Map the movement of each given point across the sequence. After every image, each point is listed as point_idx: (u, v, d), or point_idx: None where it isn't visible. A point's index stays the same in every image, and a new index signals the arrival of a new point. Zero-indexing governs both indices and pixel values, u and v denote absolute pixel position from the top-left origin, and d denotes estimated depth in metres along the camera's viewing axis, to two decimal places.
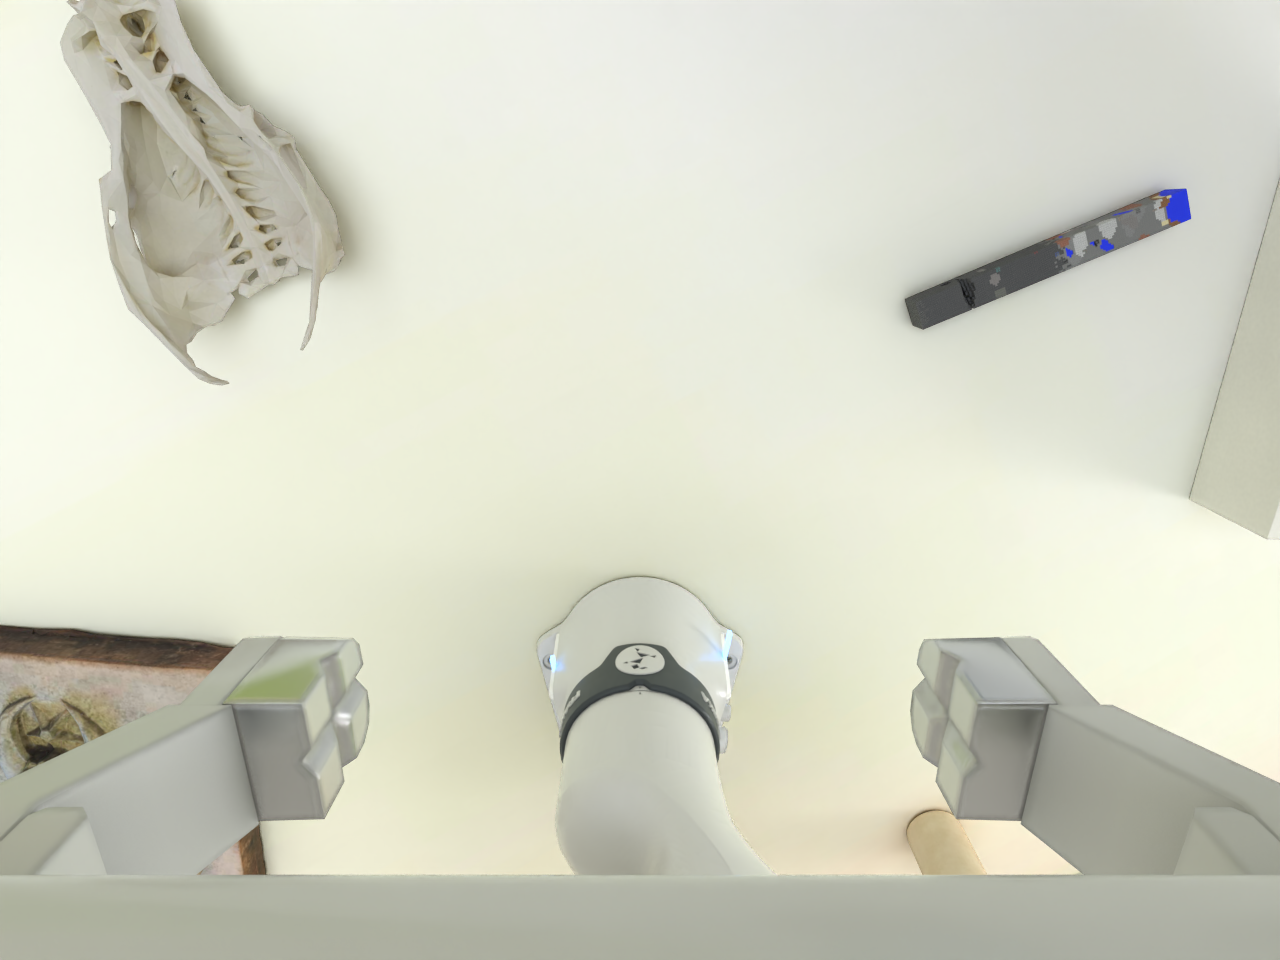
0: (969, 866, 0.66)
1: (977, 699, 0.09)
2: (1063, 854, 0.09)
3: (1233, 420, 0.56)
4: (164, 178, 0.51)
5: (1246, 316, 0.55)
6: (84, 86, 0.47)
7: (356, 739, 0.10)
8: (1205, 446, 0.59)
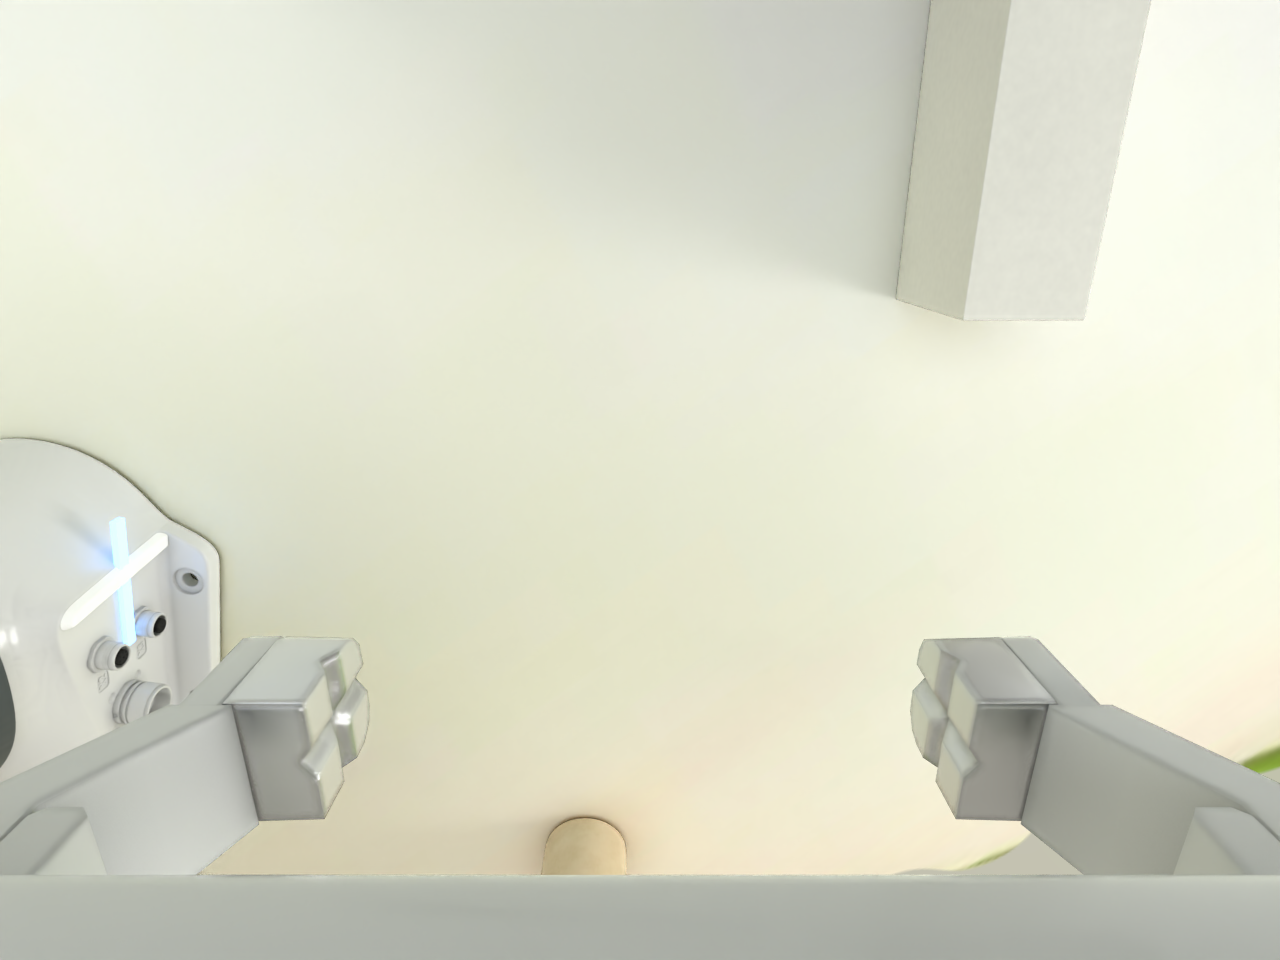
0: None
1: (977, 699, 0.09)
2: (1063, 854, 0.09)
3: (931, 129, 0.32)
4: None
5: None
6: None
7: (356, 739, 0.10)
8: (908, 198, 0.35)
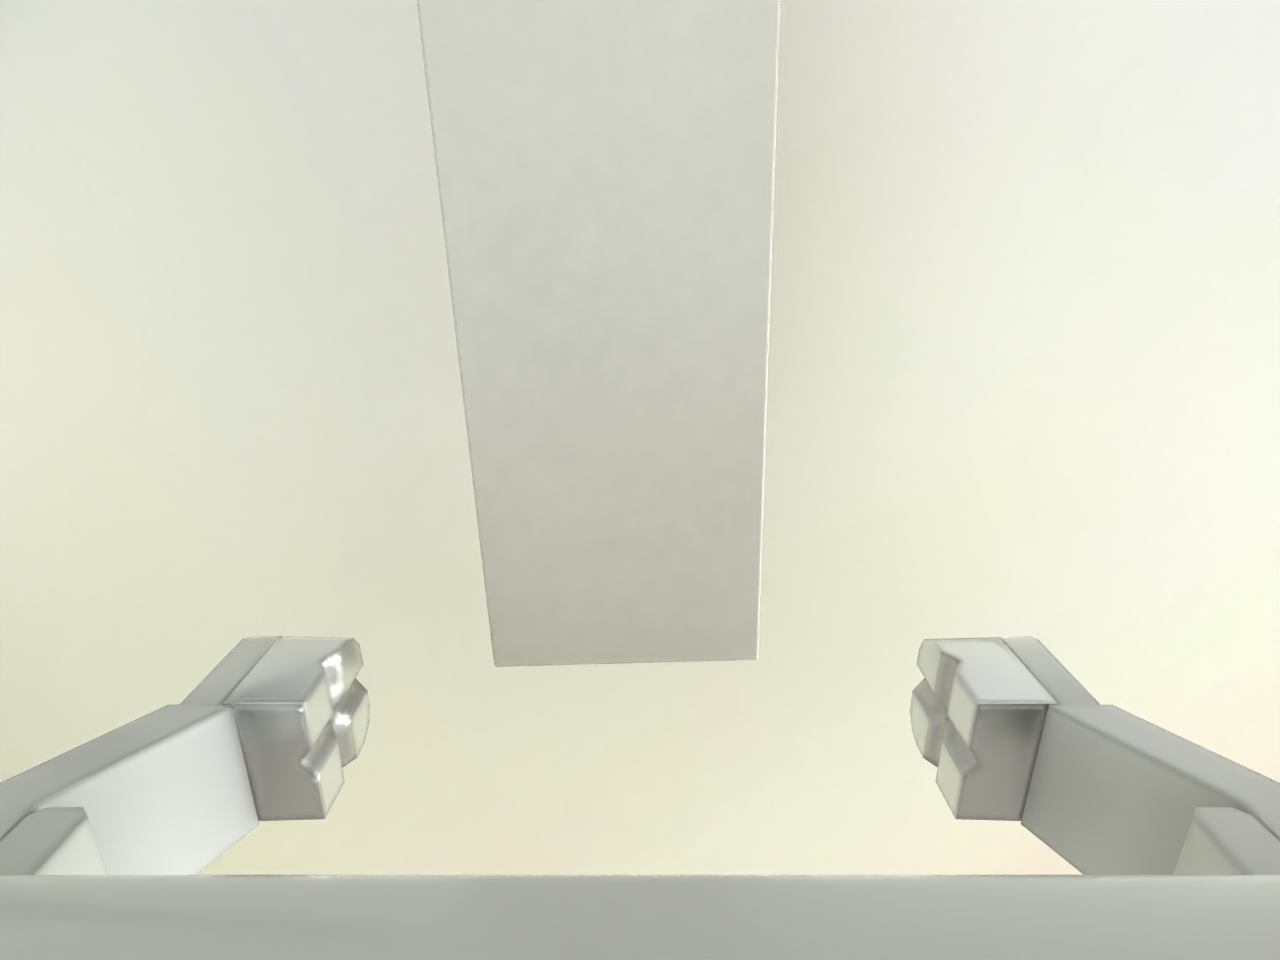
0: None
1: (977, 699, 0.09)
2: (1062, 854, 0.09)
3: None
4: None
5: None
6: None
7: (356, 739, 0.10)
8: None
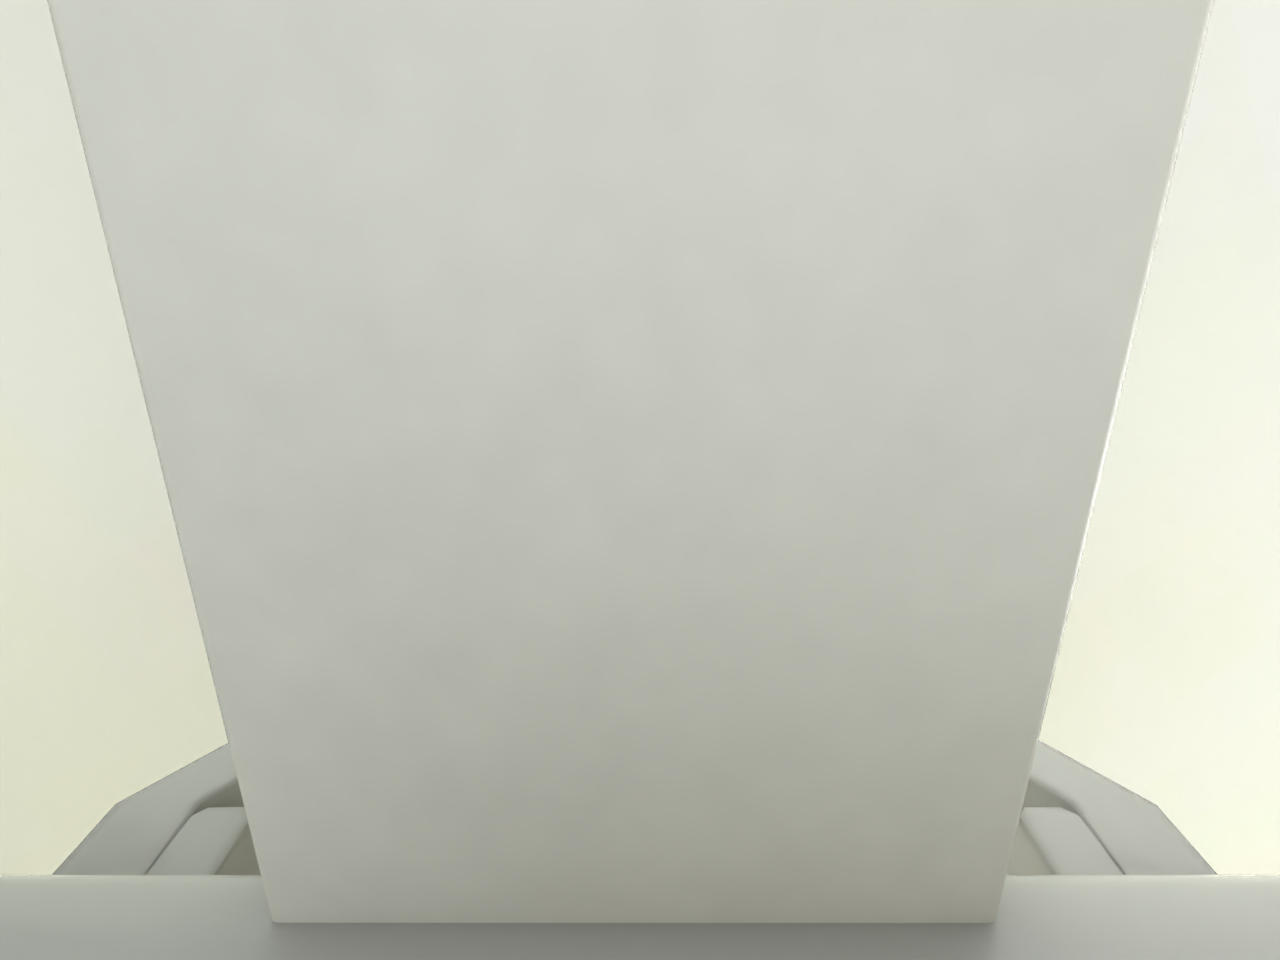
0: None
1: None
2: None
3: None
4: None
5: None
6: None
7: None
8: None
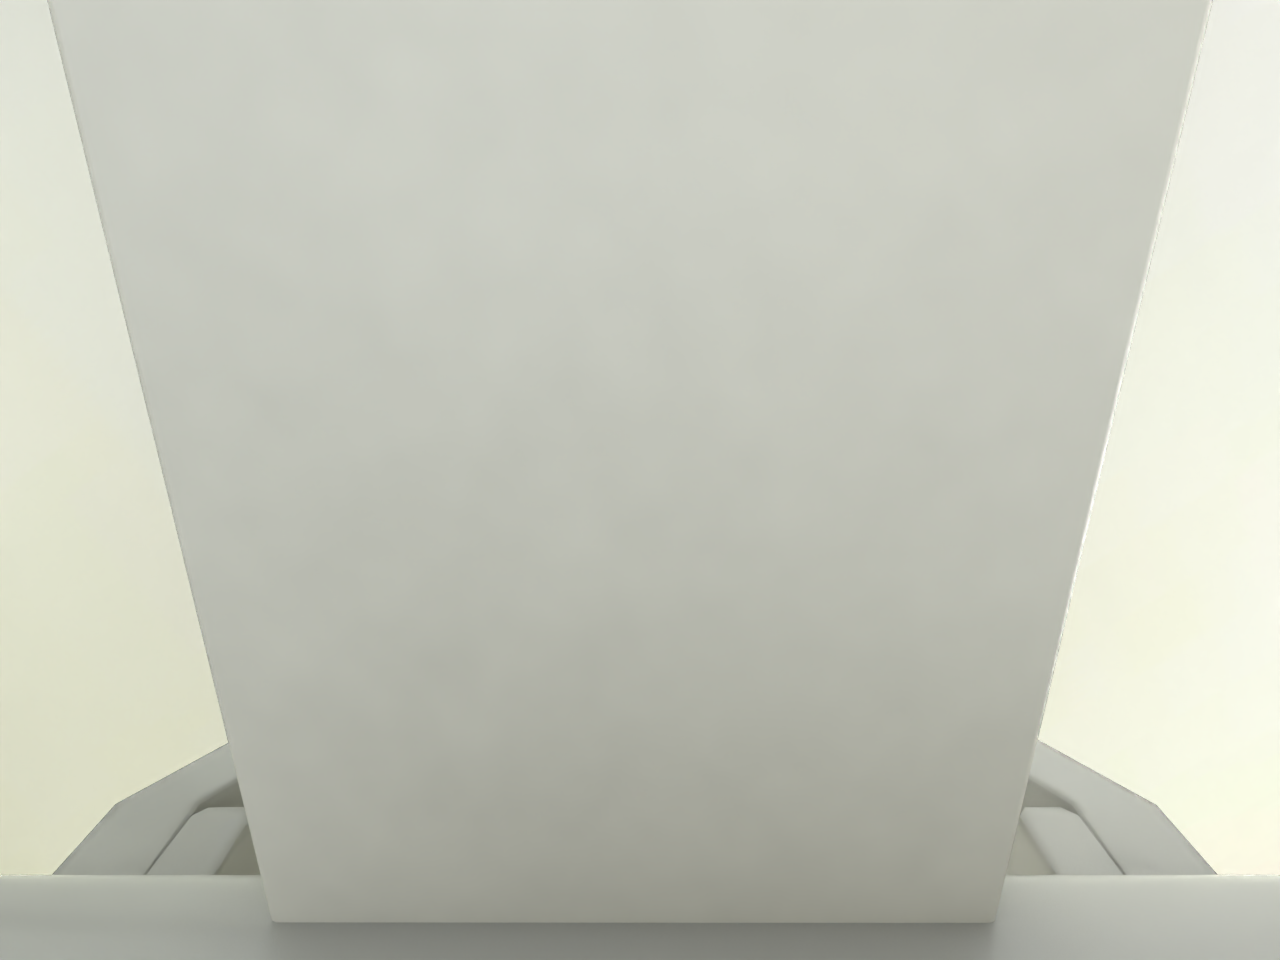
0: None
1: None
2: None
3: None
4: None
5: None
6: None
7: None
8: None
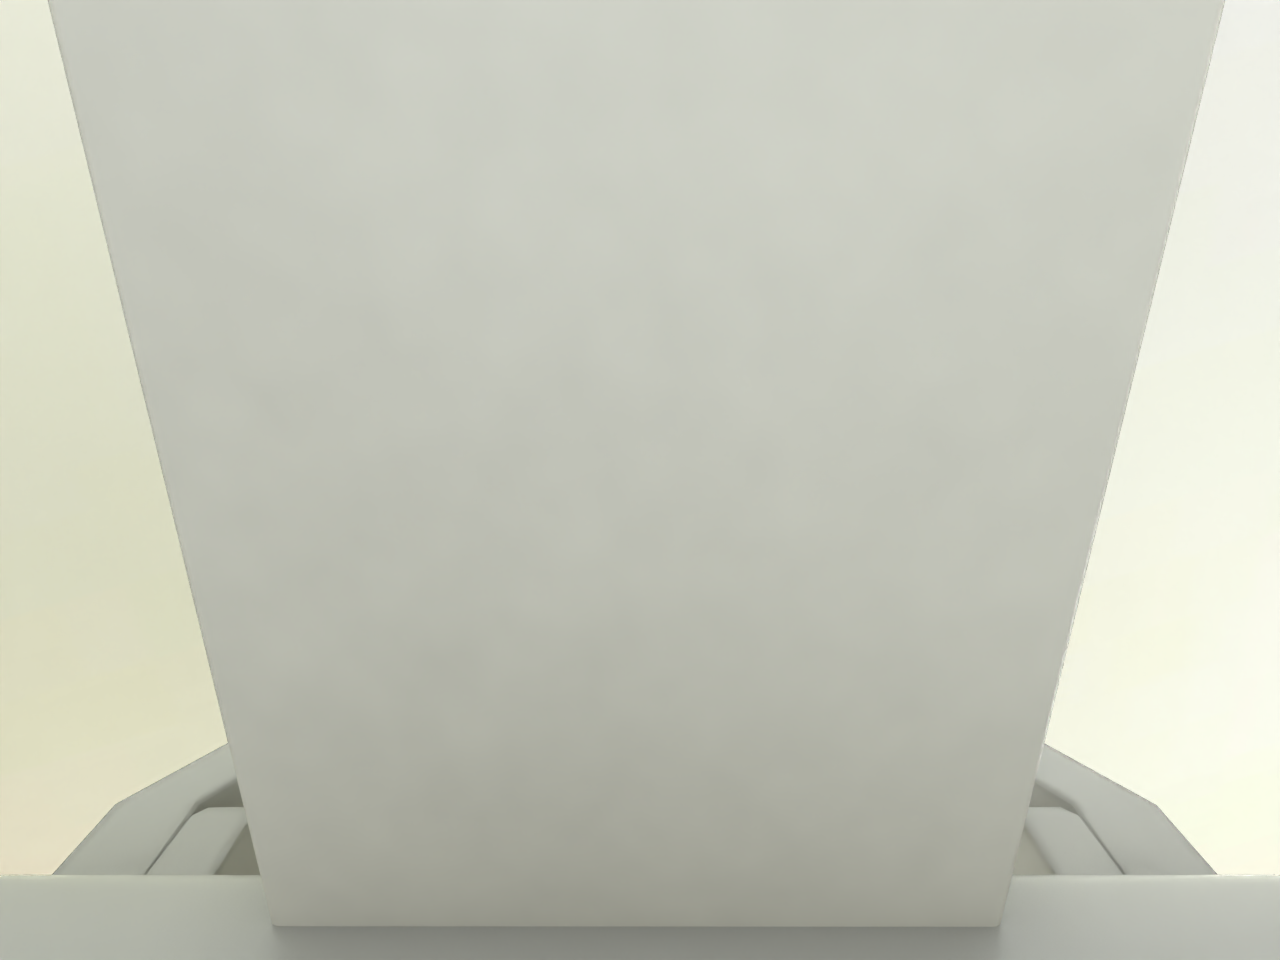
0: None
1: None
2: None
3: None
4: None
5: None
6: None
7: None
8: None
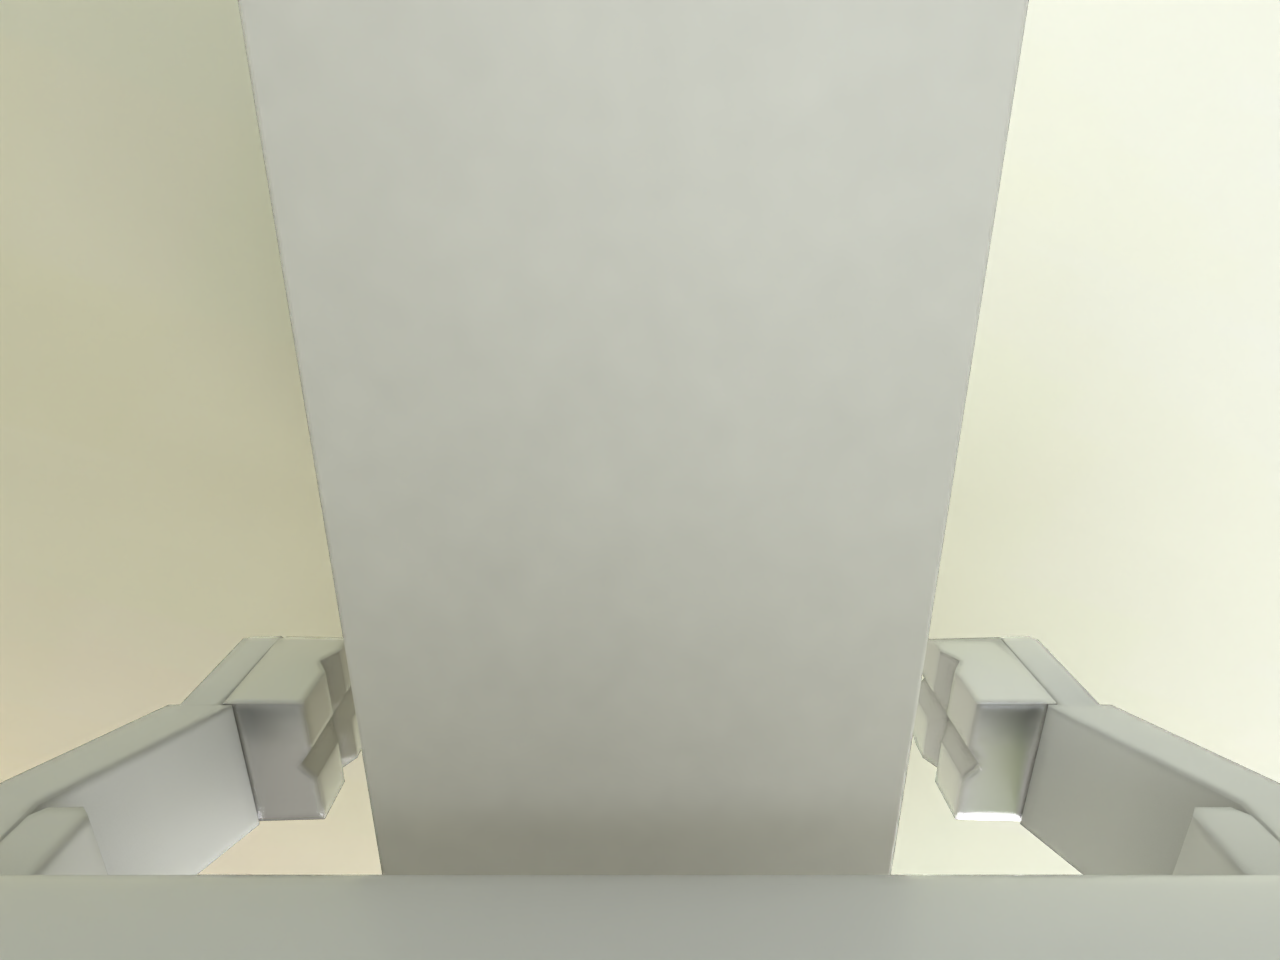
0: None
1: (977, 699, 0.09)
2: (1063, 855, 0.09)
3: None
4: None
5: None
6: None
7: (356, 739, 0.10)
8: None
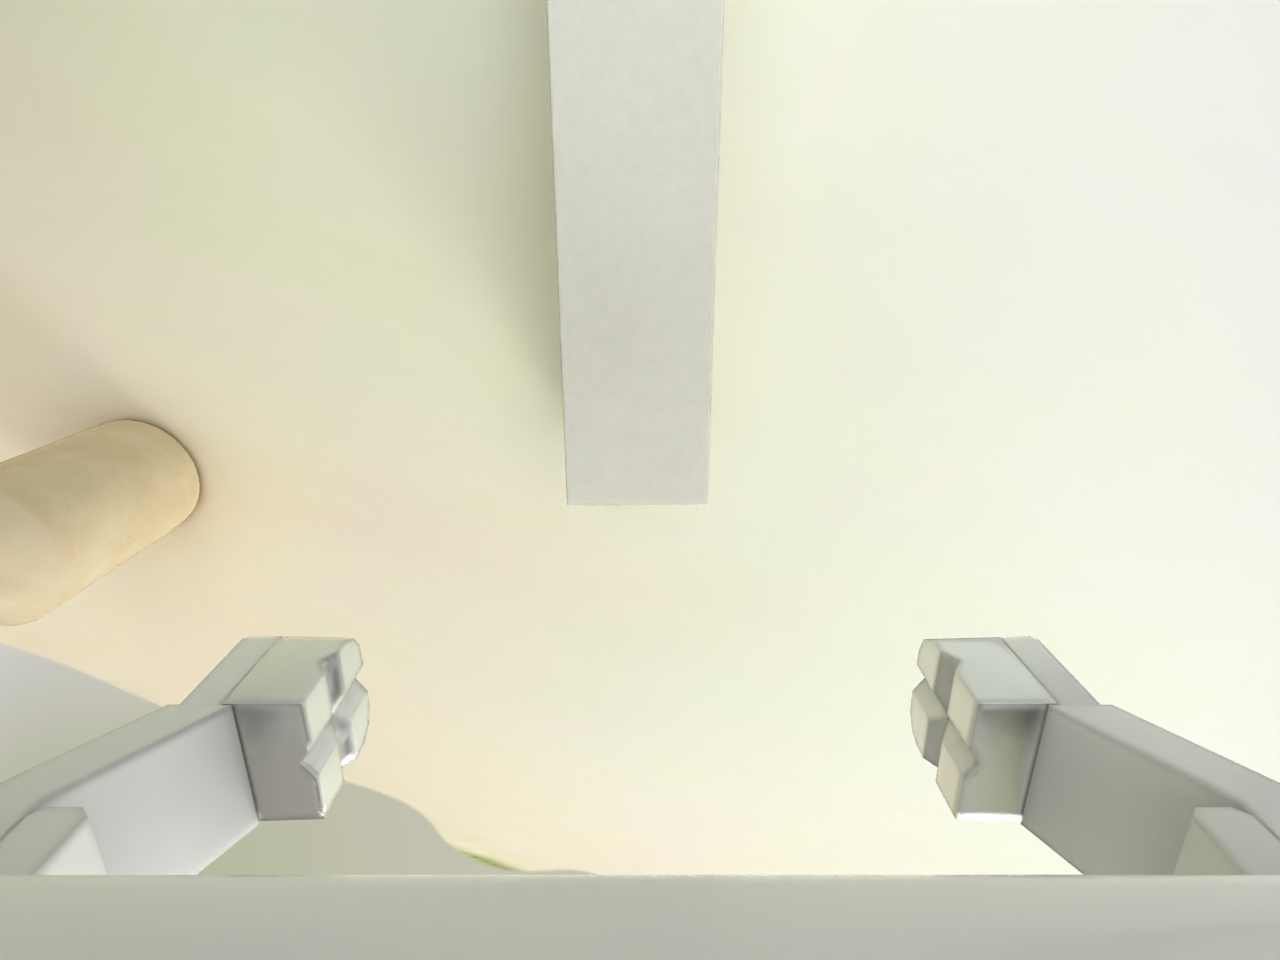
0: (82, 507, 0.26)
1: (977, 699, 0.09)
2: (1062, 855, 0.09)
3: None
4: None
5: None
6: None
7: (356, 739, 0.10)
8: None
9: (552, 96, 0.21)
